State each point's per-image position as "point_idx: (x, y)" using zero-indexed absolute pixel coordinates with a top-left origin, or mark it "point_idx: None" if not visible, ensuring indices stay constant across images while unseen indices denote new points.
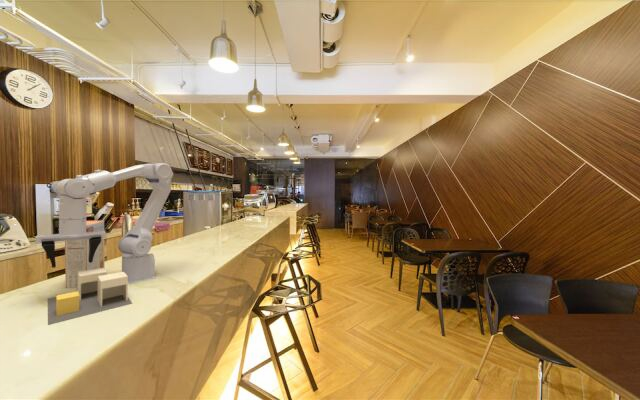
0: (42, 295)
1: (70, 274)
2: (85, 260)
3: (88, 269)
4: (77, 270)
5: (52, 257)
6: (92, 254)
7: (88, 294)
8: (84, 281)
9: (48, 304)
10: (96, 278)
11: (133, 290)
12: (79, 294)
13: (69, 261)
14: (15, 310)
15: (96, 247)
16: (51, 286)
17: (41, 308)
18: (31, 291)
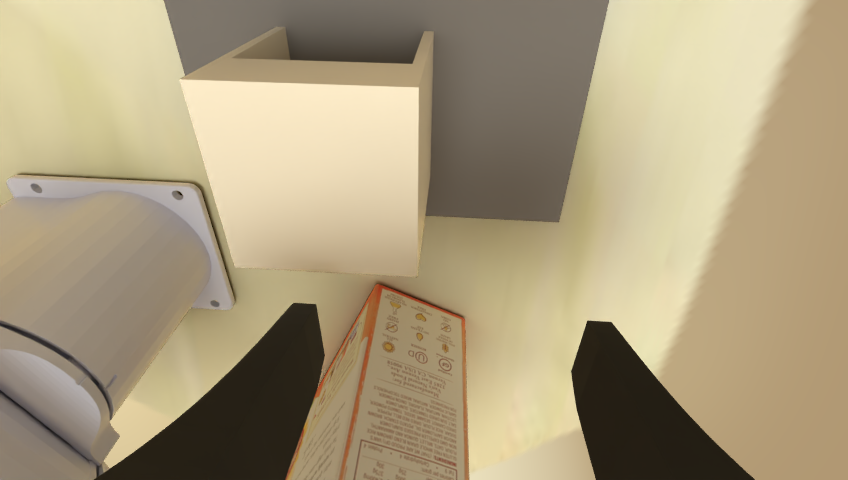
0: (555, 306)
1: (444, 379)
2: (353, 440)
3: (351, 376)
4: (409, 388)
5: (665, 416)
6: (250, 369)
7: None
8: (385, 67)
9: (581, 102)
10: (290, 66)
11: (112, 15)
12: (430, 41)
13: (447, 470)
14: (703, 161)
15: (146, 450)
16: (503, 396)
17: (613, 87)
18: None
